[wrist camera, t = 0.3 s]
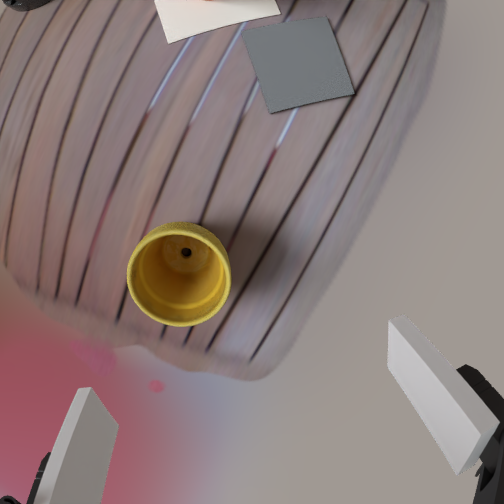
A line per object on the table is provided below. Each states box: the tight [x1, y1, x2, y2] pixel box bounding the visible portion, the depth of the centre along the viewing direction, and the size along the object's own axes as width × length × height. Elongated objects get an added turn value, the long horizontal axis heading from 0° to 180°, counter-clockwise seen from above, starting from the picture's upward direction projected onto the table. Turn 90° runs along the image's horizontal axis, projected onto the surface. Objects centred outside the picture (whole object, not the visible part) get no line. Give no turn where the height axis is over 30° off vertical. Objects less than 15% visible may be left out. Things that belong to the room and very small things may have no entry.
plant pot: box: [127, 222, 232, 327], centre depth 34 cm, size 10×10×10 cm
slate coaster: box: [241, 17, 354, 114], centre depth 32 cm, size 11×11×1 cm
